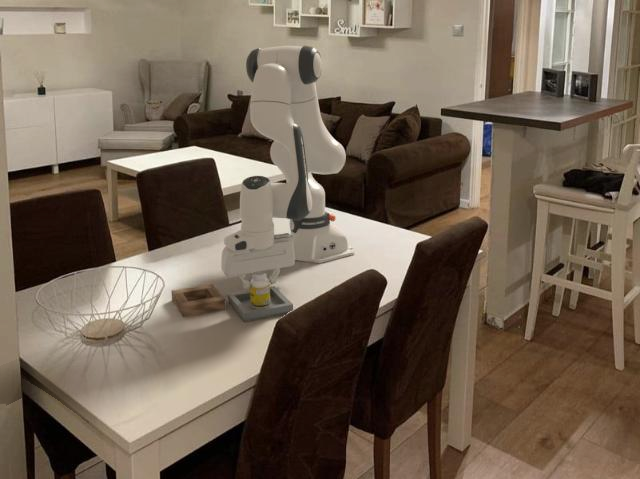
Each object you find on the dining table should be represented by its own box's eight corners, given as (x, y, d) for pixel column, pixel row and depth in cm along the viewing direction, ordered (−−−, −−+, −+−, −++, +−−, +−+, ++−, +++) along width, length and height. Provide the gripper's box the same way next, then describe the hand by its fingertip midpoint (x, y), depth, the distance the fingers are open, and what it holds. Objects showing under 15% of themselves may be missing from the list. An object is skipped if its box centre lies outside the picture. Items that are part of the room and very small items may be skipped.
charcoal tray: (274, 294, 211) (274, 286, 210) (293, 312, 199) (293, 304, 198) (228, 302, 205) (227, 294, 204) (244, 322, 193) (244, 313, 192)
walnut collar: (213, 293, 211) (212, 283, 210) (225, 309, 201) (225, 299, 200) (172, 300, 207) (171, 290, 206) (182, 317, 196) (182, 306, 195)
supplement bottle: (250, 301, 204) (249, 269, 201) (270, 301, 205) (269, 268, 201) (250, 309, 199) (249, 276, 196) (270, 309, 200) (269, 275, 196)
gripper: (289, 228, 202) (290, 275, 207) (218, 239, 194) (220, 287, 199) (298, 235, 197) (299, 282, 201) (225, 246, 189) (227, 295, 193)
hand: (259, 285), depth 200 cm, fingers open, 6 cm apart
